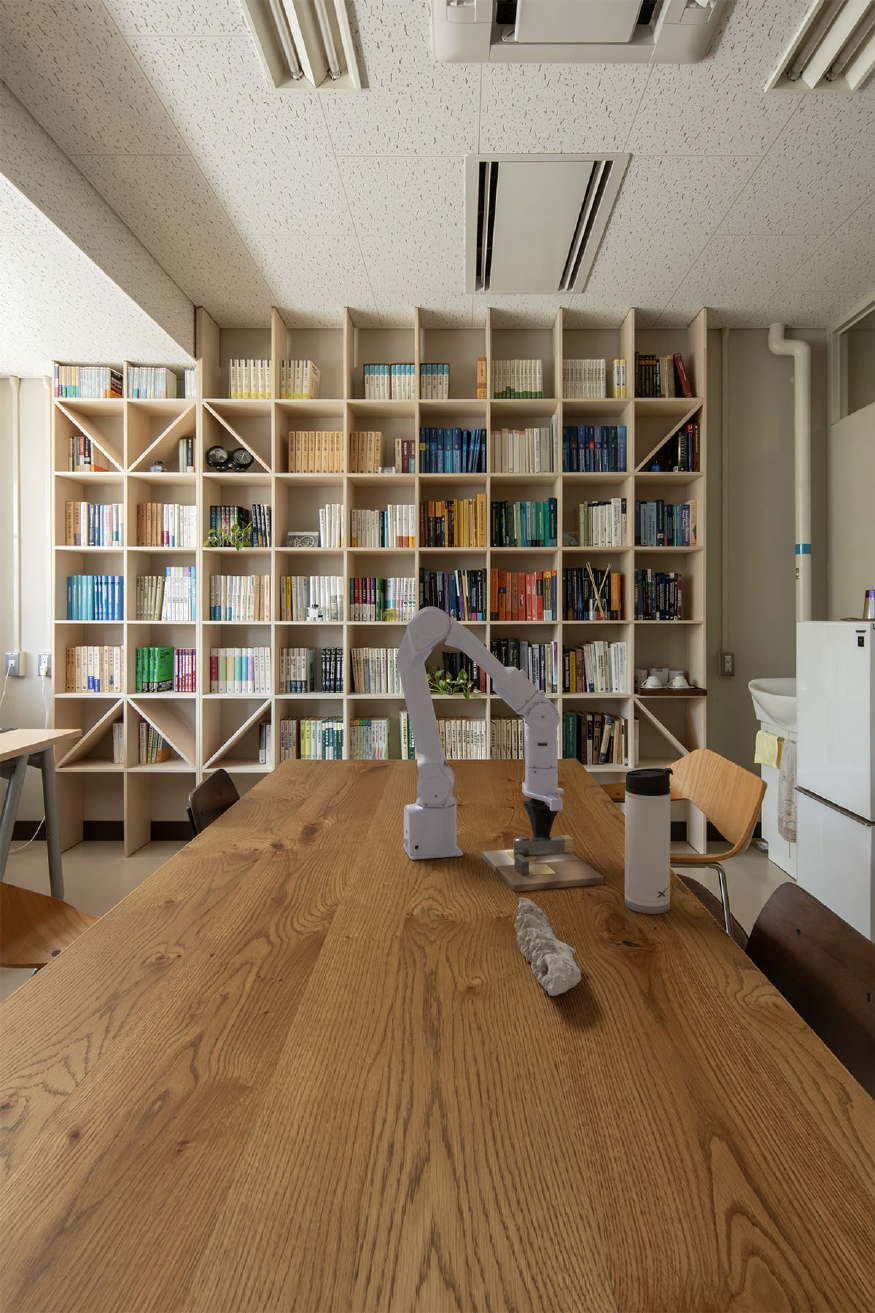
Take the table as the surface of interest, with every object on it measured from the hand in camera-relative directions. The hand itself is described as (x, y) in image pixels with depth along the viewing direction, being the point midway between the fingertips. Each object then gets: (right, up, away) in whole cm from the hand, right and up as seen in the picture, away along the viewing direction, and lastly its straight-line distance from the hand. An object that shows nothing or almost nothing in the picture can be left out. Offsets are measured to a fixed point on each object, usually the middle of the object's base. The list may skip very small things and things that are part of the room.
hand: (541, 841), depth 125 cm
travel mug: (+12, -3, -24) cm, 27 cm away
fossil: (-5, -4, -43) cm, 43 cm away
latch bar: (0, -1, -4) cm, 4 cm away
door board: (-2, -3, -9) cm, 9 cm away
